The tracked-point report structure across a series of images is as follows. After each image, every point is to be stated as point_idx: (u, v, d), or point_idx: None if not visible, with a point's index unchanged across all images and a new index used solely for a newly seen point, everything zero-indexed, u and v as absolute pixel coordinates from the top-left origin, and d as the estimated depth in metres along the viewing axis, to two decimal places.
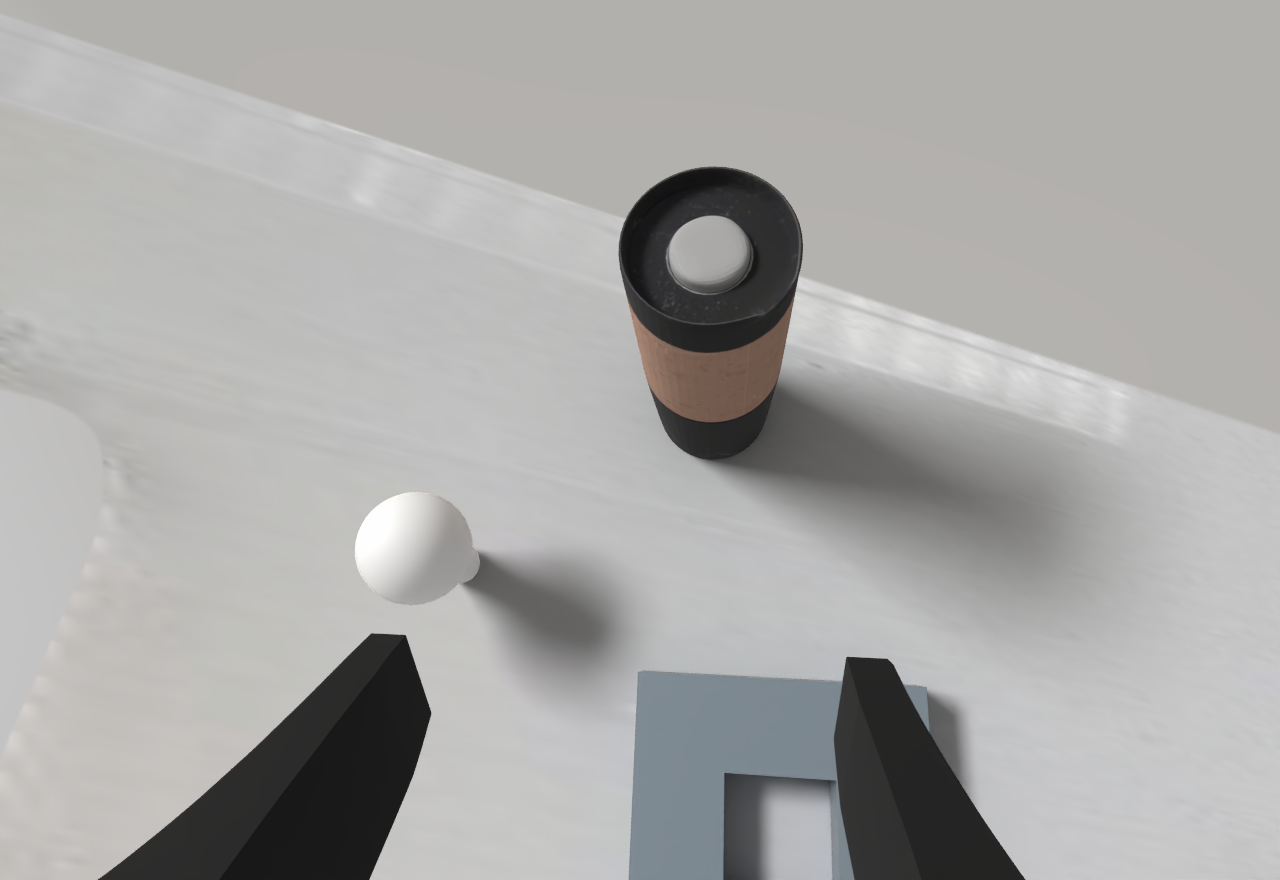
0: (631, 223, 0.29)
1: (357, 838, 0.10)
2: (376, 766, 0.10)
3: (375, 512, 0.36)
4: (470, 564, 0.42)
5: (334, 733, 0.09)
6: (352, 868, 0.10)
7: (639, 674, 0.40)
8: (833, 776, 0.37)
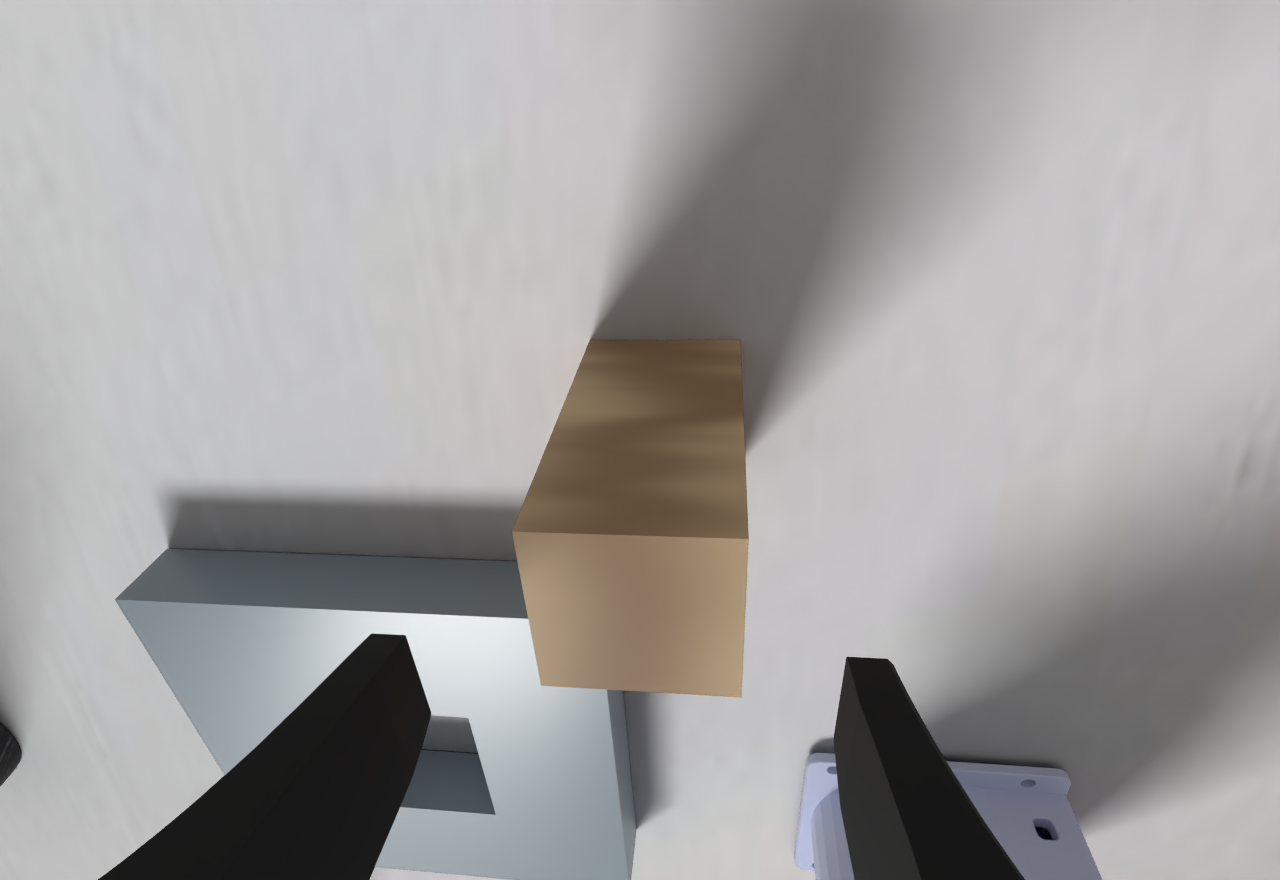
0: None
1: (357, 838, 0.10)
2: (376, 766, 0.10)
3: None
4: None
5: (334, 733, 0.09)
6: (352, 868, 0.10)
7: None
8: None
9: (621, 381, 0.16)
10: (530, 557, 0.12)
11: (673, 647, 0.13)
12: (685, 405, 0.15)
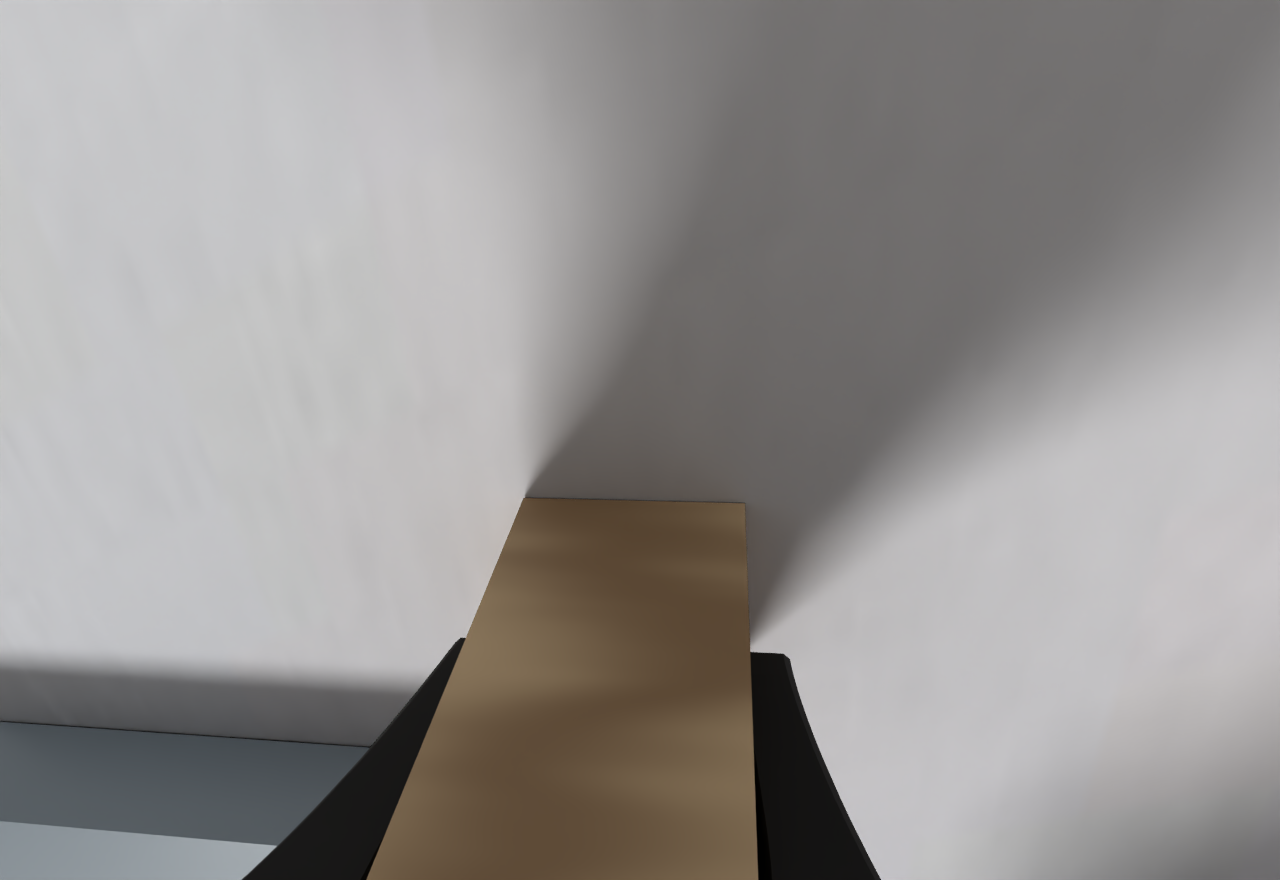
0: None
1: None
2: None
3: None
4: None
5: None
6: None
7: None
8: None
9: (559, 594, 0.10)
10: None
11: None
12: (656, 660, 0.09)
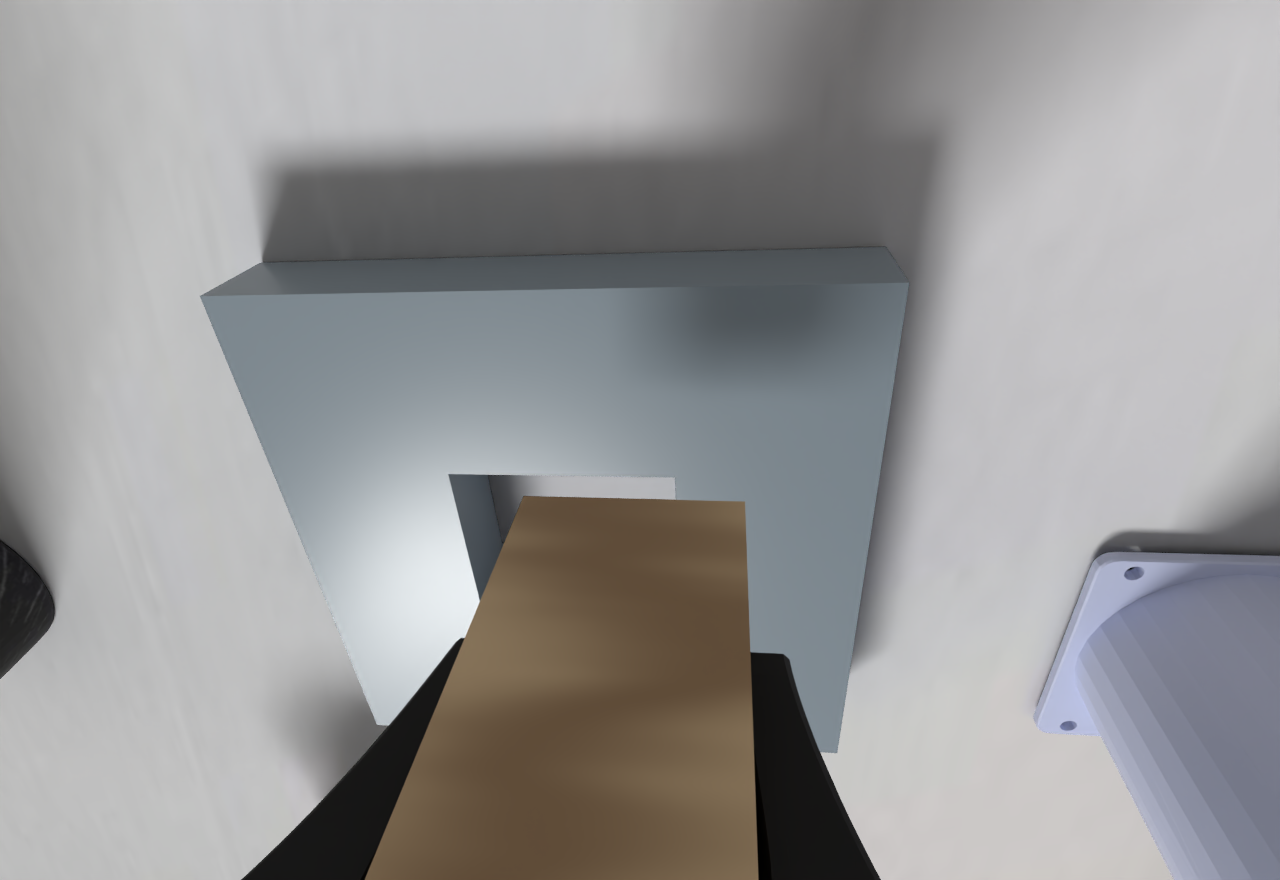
0: None
1: None
2: None
3: None
4: None
5: None
6: None
7: (380, 723, 0.25)
8: (442, 479, 0.18)
9: (559, 592, 0.10)
10: None
11: None
12: (656, 659, 0.09)
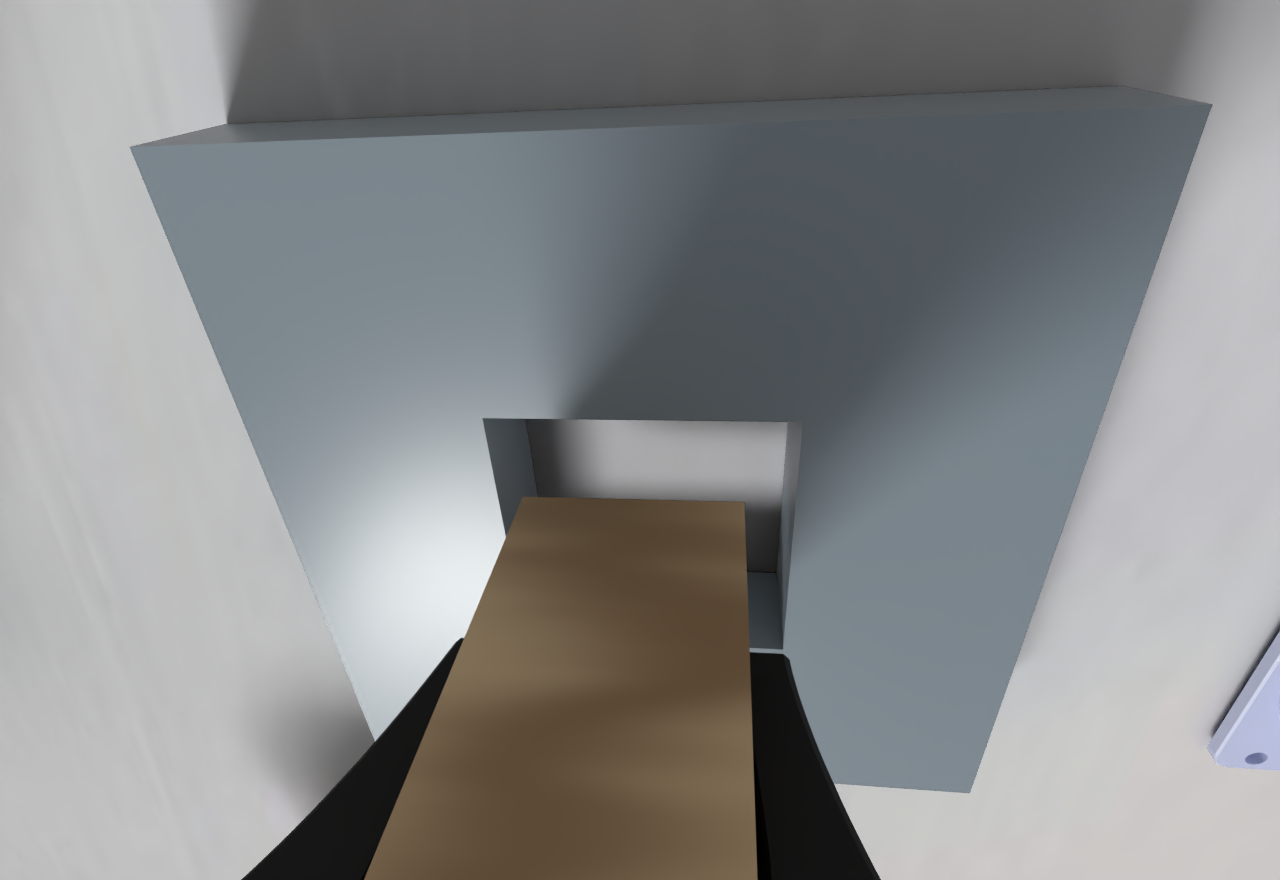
0: None
1: None
2: None
3: None
4: None
5: None
6: None
7: None
8: (473, 425, 0.13)
9: (558, 593, 0.10)
10: None
11: None
12: (654, 659, 0.09)
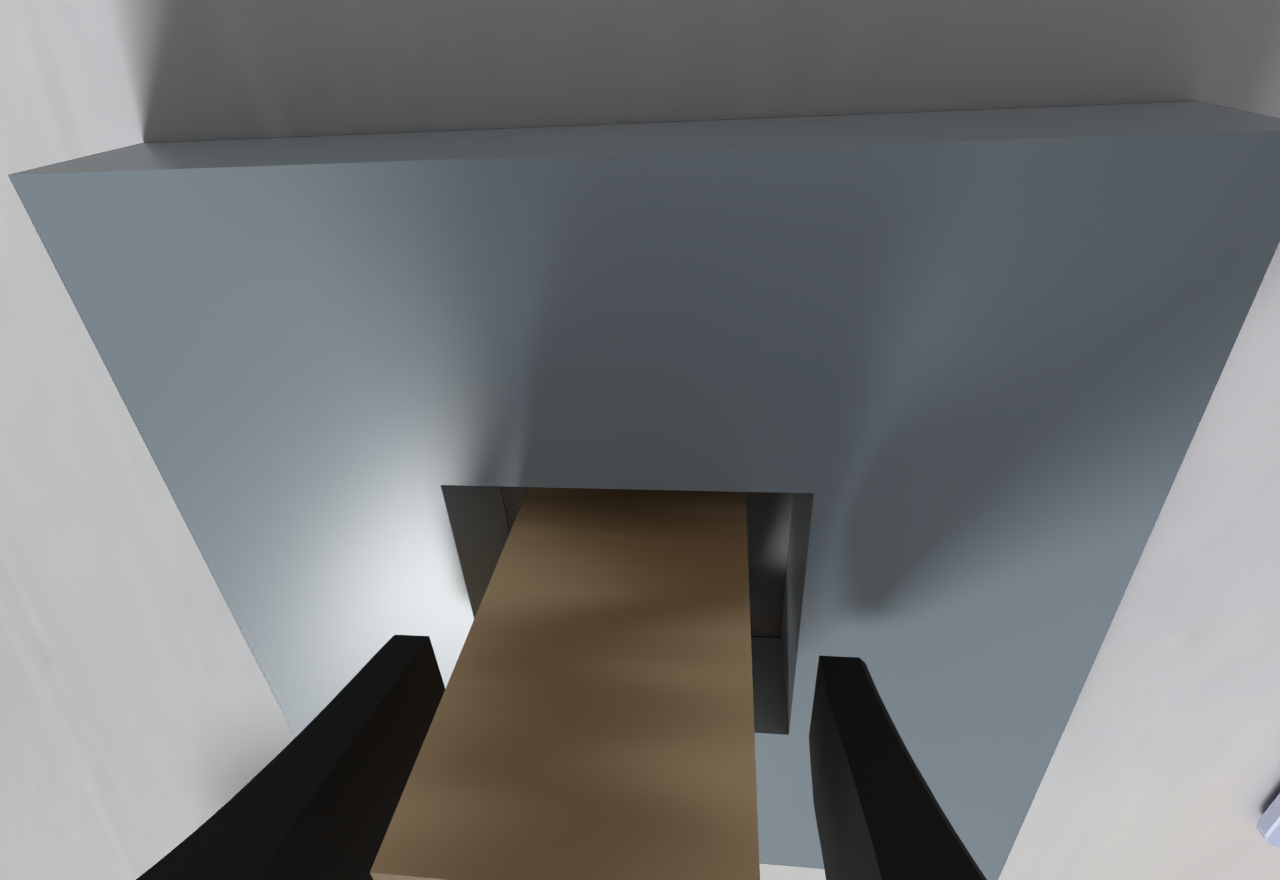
0: None
1: None
2: (401, 768, 0.10)
3: None
4: None
5: (362, 735, 0.09)
6: None
7: None
8: (431, 492, 0.11)
9: (578, 529, 0.12)
10: None
11: None
12: (666, 580, 0.11)
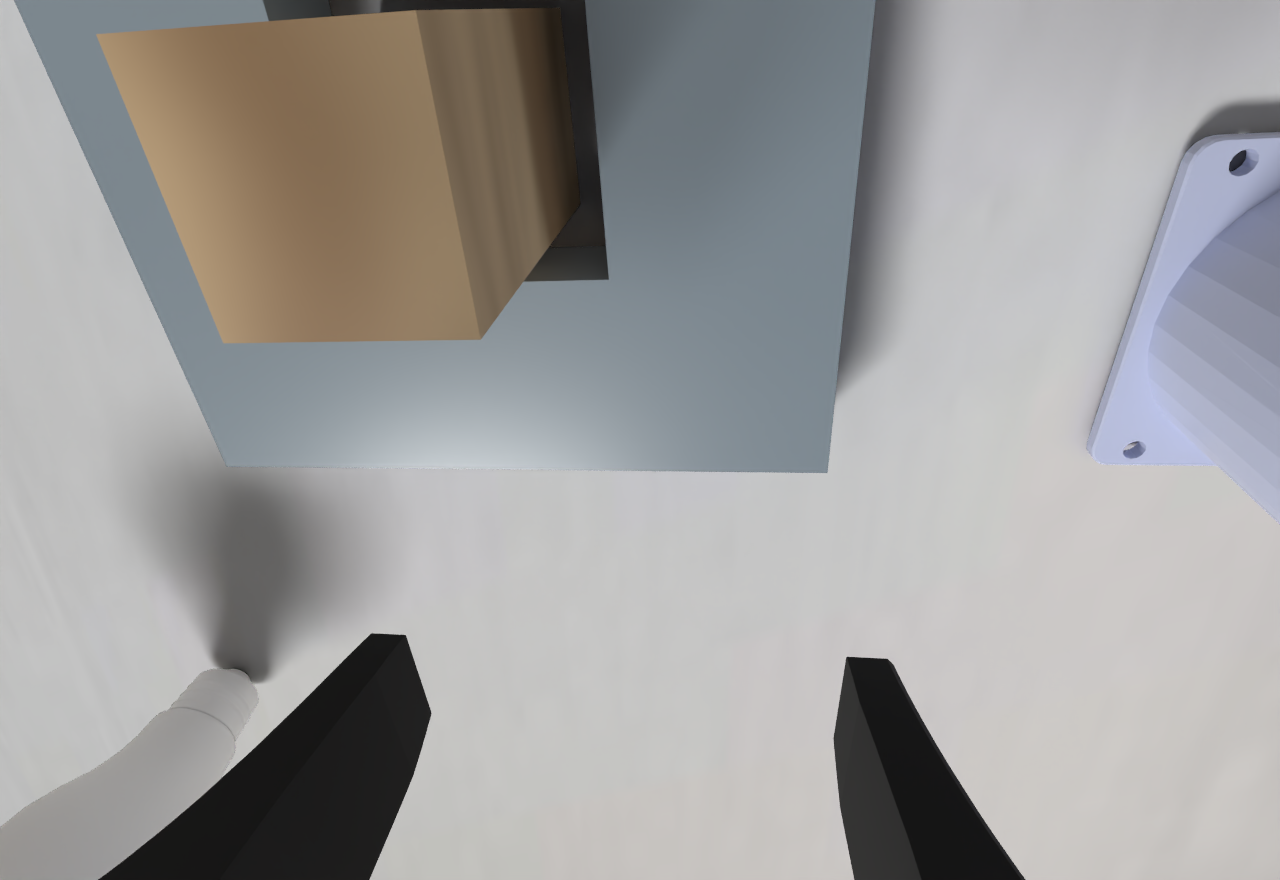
0: None
1: (357, 838, 0.10)
2: (376, 766, 0.10)
3: None
4: (174, 723, 0.24)
5: (334, 733, 0.09)
6: (352, 868, 0.10)
7: (230, 463, 0.19)
8: None
9: None
10: (135, 86, 0.08)
11: (370, 250, 0.09)
12: None
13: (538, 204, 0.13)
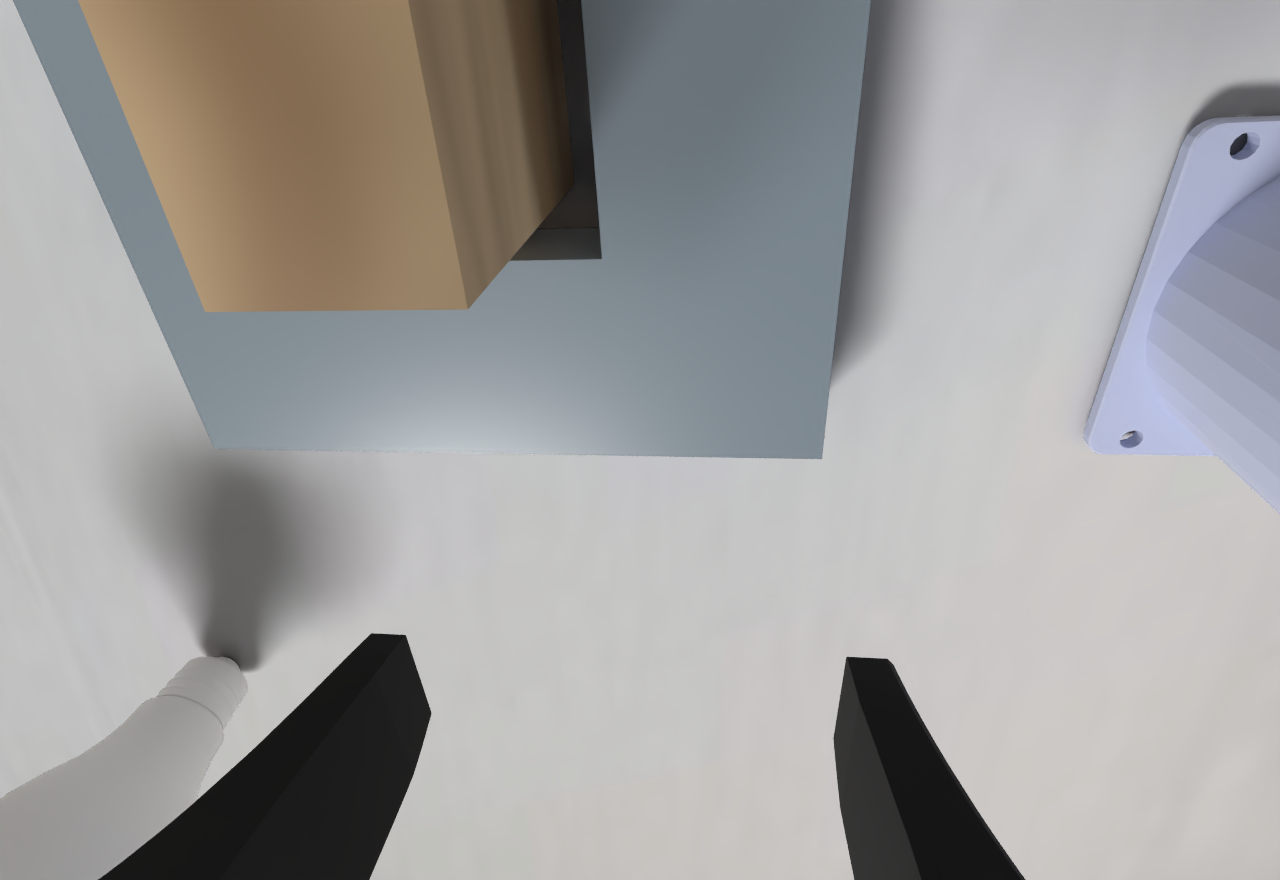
0: None
1: (357, 838, 0.10)
2: (376, 766, 0.10)
3: None
4: (161, 710, 0.24)
5: (334, 733, 0.09)
6: (352, 868, 0.10)
7: (218, 445, 0.19)
8: None
9: None
10: (113, 41, 0.08)
11: (354, 215, 0.09)
12: None
13: (530, 178, 0.13)
